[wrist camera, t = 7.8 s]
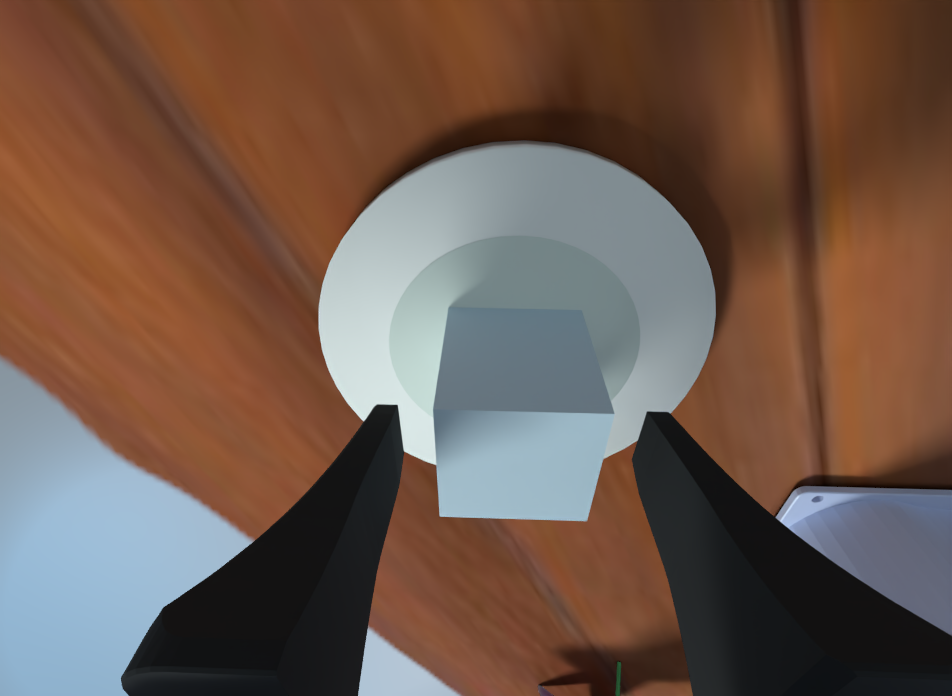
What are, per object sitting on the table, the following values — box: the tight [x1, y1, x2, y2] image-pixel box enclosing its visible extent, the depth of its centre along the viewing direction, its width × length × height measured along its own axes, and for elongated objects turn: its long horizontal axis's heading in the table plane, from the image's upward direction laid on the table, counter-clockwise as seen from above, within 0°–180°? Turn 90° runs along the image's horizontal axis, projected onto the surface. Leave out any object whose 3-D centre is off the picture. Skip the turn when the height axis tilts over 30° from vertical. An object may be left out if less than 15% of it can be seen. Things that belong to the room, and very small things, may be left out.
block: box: [433, 307, 615, 521], centre depth 14 cm, size 4×4×5 cm
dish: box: [319, 140, 716, 465], centre depth 17 cm, size 14×14×1 cm
